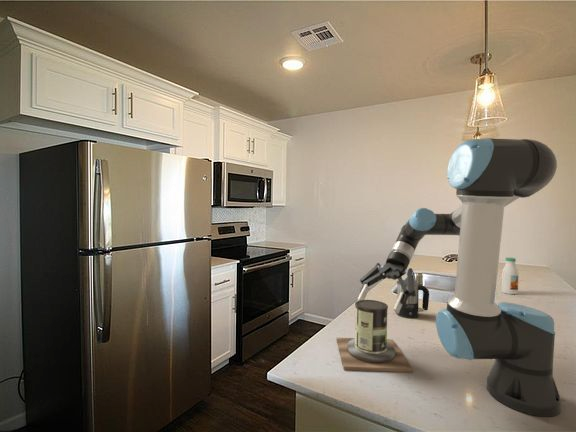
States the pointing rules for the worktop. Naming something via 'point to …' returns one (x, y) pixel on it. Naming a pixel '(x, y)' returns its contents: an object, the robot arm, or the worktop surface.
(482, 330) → the robot arm
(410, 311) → the milk frother
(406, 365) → the mount board
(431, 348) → the worktop surface
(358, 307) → the coffee can
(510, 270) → the milk bottle
